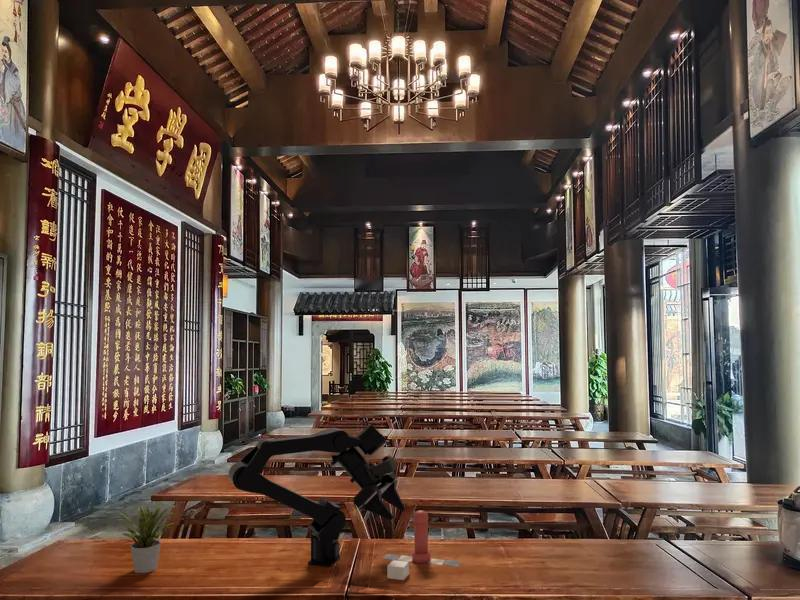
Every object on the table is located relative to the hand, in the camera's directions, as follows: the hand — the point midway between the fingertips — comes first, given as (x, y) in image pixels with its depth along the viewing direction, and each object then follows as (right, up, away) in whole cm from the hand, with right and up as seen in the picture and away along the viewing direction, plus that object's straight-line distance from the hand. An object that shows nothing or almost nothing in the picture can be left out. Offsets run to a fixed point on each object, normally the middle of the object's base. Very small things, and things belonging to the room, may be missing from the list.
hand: (398, 514), depth 160 cm
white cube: (0, -11, -14) cm, 18 cm away
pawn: (+6, -11, -3) cm, 12 cm away
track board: (+6, -12, -3) cm, 13 cm away
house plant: (-62, -13, -4) cm, 63 cm away
